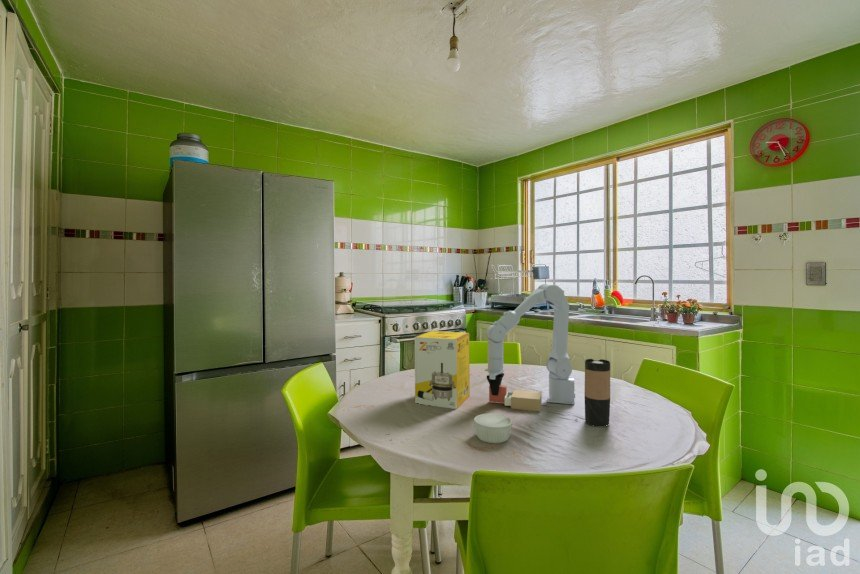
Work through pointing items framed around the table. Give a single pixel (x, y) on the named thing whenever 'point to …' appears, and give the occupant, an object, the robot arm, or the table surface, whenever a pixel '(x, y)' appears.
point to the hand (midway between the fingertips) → (495, 393)
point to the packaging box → (442, 369)
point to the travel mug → (597, 392)
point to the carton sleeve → (526, 400)
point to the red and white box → (501, 396)
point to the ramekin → (493, 427)
